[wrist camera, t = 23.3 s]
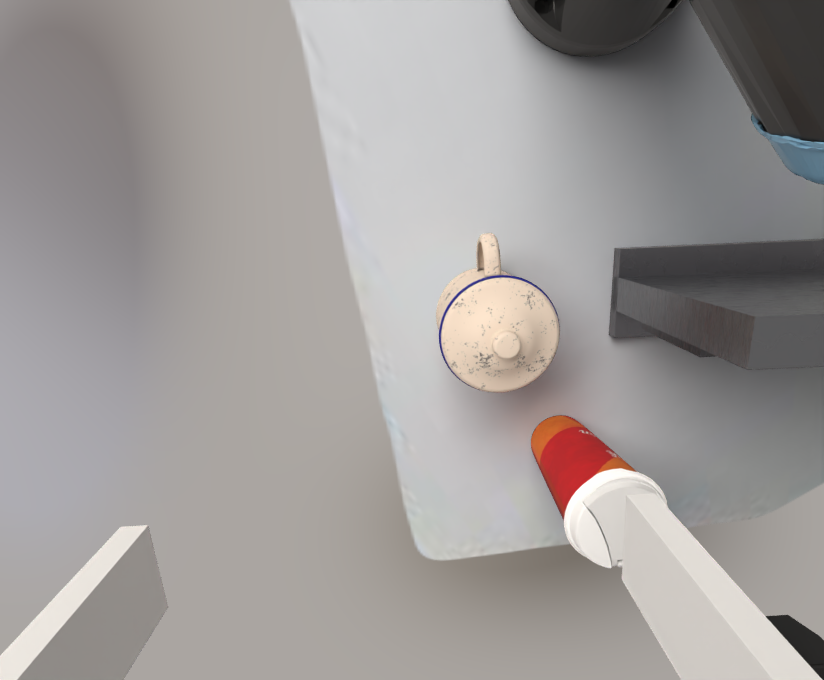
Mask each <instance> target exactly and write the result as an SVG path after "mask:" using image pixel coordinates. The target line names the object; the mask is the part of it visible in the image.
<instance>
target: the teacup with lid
mask: <svg viewBox="0 0 824 680" xmlns="http://www.w3.org/2000/svg"><path fill="white" fill-rule="evenodd" d="M476 258H477V268H475V269H471V270H468V271H466V272H463V273H461V274H460V275H458V276H457V277H455V278H454V279H453V280H452V281H451V282H450V283H449V284H448V285H447V286H446V288H445V289H444V291H443V292H442V294H441V296H440V299H439V301H438V305H437V312H436V319H437V325H438V329H439V343H440V349H441V353H442V356H443V358H444V360H445V363H446V364H447V366H448V368H449V369H450V370H451V371H452V373H453V374H454V375H455V376H456V377H457V378H458V379H460V380H461V381H462V382H464V383H465V384H467V385H469V386H471V387H473V388H475V389H478V390H482V391H487V392H497V393H498V392H509V391H513V390H516V389H519V388H522V387H524V386H526V385H528V384H530V383H531V382H533V381H534V380H536V379H537V378H538V377H539V376H540V375H541V374H542V373H543V372H544V371H545V370H546V369H547V368H548V366H549V365H550V363H551V362H552V360H553V358H554V356H555V353H556V351H557V347H558V343H559V336H560V326H559V319H558V315H557V312H556V310H555V307H554V305H553V304H552V302H551V300H550V299H549V298H548V296H547V295H546V294H545V293H544V292H543V291H542V290H541V289H540V288H539V287H537V286H536V285H534V284H533V283H531V282H529V281H527V280H525V279H522V278H519V277H515V276H512V275H510V274H508V273H506V272H504V271H502V270H501V261H500V250H499V244H498V240H497V238H496V236H495V235H494V234H492V233H486V234H482V235H481V236H480V237H479V239H478V242H477V252H476Z"/></svg>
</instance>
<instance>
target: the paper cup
mask: <svg viewBox="0 0 824 680" xmlns="http://www.w3.org/2000/svg"><path fill="white" fill-rule="evenodd" d="M531 448H532V452H533V454H534V457H535V459H536V462H537V464H538V466H539V468H540V470H541V473H542V475H543V477H544V479H545V481H546V484H547V486H548V488H549V490H550V492H551V494H552V496H553V499H554V501H555V503H556V505H557V507H558V509H559V511H560V513H561V516H562V518H563V520H564V528H565V533H566V535H567V538H568V540H569V542H570V543H571V545H572V546H573V547H574V548H575V550H576V551H578V552H579V553H580V554H581V555H583V556H585V557H586V558H588V559H590V560H591V561H592V562H594V563H596V564H598V565H600V566H603V567H606V568H611V566H618V567H622V565H623V547H624V530H625V512H626V495H635V494H650V493H655V494H656V495H657V496H658V498H659V499H660V500H661V501H662V502H663V503H664V504H665V505H666V506H667V508H668V504H667V500H666V497H665V495H664V493H663V491H662V489H661V488H660V487H659V486H658V484H657V483H655V482H654V481H653V480H652V479H651V478H649V477H647V476H646V475H643V474H641V473H638V472H637V471H635V470H634V469H633V468H632V467H631V466H630V465H628V464H627V463H626V462H625V461H624V460H623V459H622V458H620V457H619V456H618V455H617V454H616V453H615V452H614V451H612V450H611V449H610V448H609V447H608V446H607V445H605V444H604V443H603V442H602V441H601V440H600V439H599V438H597V437H596V436H595V435H594V434H593V433H592V432H590V431H589V430H588V429H587V428H586V427H584V426H583V425H582V424H581V423H579V422H578V421H576V420H575V419H573V418H571V417H568V416H562V415H559V416H553V417H550V418H547V419H545V420H544V421H542V422H541V423H540V424H539V425H538V426H537V427H536V429H535V430H534V432H533V434H532V438H531ZM668 509H669V508H668Z"/></svg>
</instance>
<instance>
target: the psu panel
mask: <svg viewBox="0 0 824 680" xmlns="http://www.w3.org/2000/svg"><path fill="white" fill-rule="evenodd" d="M609 335H611V336H612V337H614V338H618V337H641V336H657V337H659V338H661V339H663V340H666V341H668V342H670V343H672V344H674V345H676V346H678V347H680V348H682V349H684V350H686V351H689V352H691V353H693V354H695V355H697V356H699V357H711V356H718V357H720V358H722V359H725V360H727V361H729V362H731V363H734V364H736V365H738V366H740V367H742V368H745V369H747V370H752V369H776V368H799V367H822V366H824V239H811V240H789V241H766V242H744V243H721V244H699V245H676V246H654V247H631V248H615V252H614V267H613V282H612V297H611V312H610V327H609Z"/></svg>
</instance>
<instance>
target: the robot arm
mask: <svg viewBox="0 0 824 680" xmlns="http://www.w3.org/2000/svg"><path fill="white" fill-rule="evenodd" d="M690 1H691V0H690ZM509 2H510V4H511V7H512V8H513V10H514V12H515V14H516V15H517V17H518V18H519V20H520V21H521V22H522V24H523V25H524V26H525V27H526V28H527V30H528V31H529V32H530V33H531V34H533V35H534V36H535V37H536V38H537V39H538V40H540V41H541V42H543V43H544V44H546V45H548V46H549V47H551V48H553V49H556V50H558V51H561V52H563V53H567V54H571V55H577V56H599V55H605V54H609V53H613V52H616V51H619V50H621V49H623V48H626V47H628V46H630V45H632V44H633V43H635V42H637V41H638V40H640V39H641V38H643V37H644V36H645V35H647V34H648V33H649V32H651V31H652V30H653V29H654V28H656V27H657V26H658V25H659V24H661V23H662V22H663V21H664V20H665V19H666V18H667V17H668V16H669V15H670V14H671V13H672V12H673V11H674V10H675V9H676V8H677V6H678V5H679V4H680V3H681V2H682V0H509ZM690 3H691V5H692V7H693V9H694V10H695V12H696V14H697V16H698V18H699V19H700V21H701V23H702V25H703V26H704V28H705V30H706V32H707V34H708V35H709V37H710V39H711V41H712V42H713V44H714V46H715V48H716V50H717V51H718V53H719V55H720V57H721V59H722V60H723V62H724V64H725V66H726V67H727V69H728V71H729V73H730V75H731V76H732V78H733V80H734V82H735V83H736V85H737V87H738V89H739V91H740V92H741V94H742V96H743V98H744V99H745V101H746V103H747V105H748V107H749V108H750V110H751V112H752V116H751V120H752V122H753V124H754V127H755V128H756V129H757V131H758V132H759V133H760V134H762V135H763V136H764V137H766V138H767V139H768V140H769V142H770V143H771V145H772V146H773V148H774V149H775V151H776V152H777V154H778V155H779V157H780V159H781V160H782V162H783V163H784V164H785V166H786V167H787V168H788V169H789V170H790V171H791V172H793V173H794V174H796V175H799V176H802V177H804V178H805V179H806V180H810V181H812V182H815V183H818V184H824V0H692V1H691V2H690ZM622 581H623V583H624V584H625V586H626V588H627V589H628V591H629V593H630V594H631V596H632V598H633V599H634V601H635V603H636V605H637V606H638V608H639V610H640V611H641V613H642V615H643V616H644V618H645V620H646V621H647V623H648V625H649V627H650V628H651V630H652V632H653V633H654V635H655V637H656V638H657V640H658V642H659V643H660V645H661V647H662V649H663V650H664V652H665V654H666V655H667V657H668V659H669V660H670V662H671V664H672V665H673V667H674V669H675V670H676V672H677V674H678V675H679V677H680V679H681V680H824V640H823V639H822V638H821V637H820V636H818V635H817V634H815V633H814V632H812V631H811V630H809V629H808V628H806V627H805V626H803V625H802V624H800V623H799V622H797V621H796V620H795V619H793V618H792V617H790V616H789V615H779V616H765V615H764V614H763V613H762V612H761V611H760V610H759V609H758V608H757V607H756V606H755V604H754V603H753V602H752V601H751V600H750V599H749V598H748V597H747V595H746V594H745V593H744V592H743V591H742V590H741V589H740V588H739V587H738V585H737V584H736V583H735V582H734V581H733V580H732V579H731V578H730V577H729V575H728V574H727V573H726V572H725V571H724V570H723V569H722V568H721V566H720V565H718V563H717V562H716V561H715V560H714V559H713V558H712V557H711V556H710V554H709V553H708V552H707V551H706V550H705V549H704V548H703V546H701V544H700V543H699V542H698V541H697V540H696V539H695V538H694V536H693V535H692V534H691V533H690V532H689V531H688V530H687V529H686V528H685V526H684V525H683V524H682V523H681V522H680V521H679V520H678V519H677V518H676V516H675V515H674V514H673V513H672V512H671V511H670V510H669V509H668V508H667V506H666V505H665V504H664V503H663V502H662V501H661V500H660V499H659V498H658V496H657V495H656V494H655V493H650V494H635V495H626V512H625V530H624V547H623V565H622ZM167 608H168V605H167V600H166V596H165V592H164V588H163V584H162V580H161V576H160V572H159V567H158V563H157V559H156V555H155V551H154V547H153V543H152V539H151V534H150V530H149V526H148V525H145V526H128V527H120V528H119V529H118V530H117V532H116V533H115V534H114V535H113V536H112V537H111V538H110V539H109V540H108V541H107V542H106V543H105V544H104V545H103V546H102V547H101V549H100V550H99V551H98V552H97V553H96V554H95V555H94V556H93V557H92V558H91V559H90V560H89V561H88V563H87V564H86V565H85V566H84V567H83V568H82V569H81V570H80V571H79V572H78V573H77V574H76V575H75V576H74V577H73V578H72V580H71V581H70V582H69V583H68V584H67V585H66V586H65V587H64V588H63V589H62V590H61V591H60V592H59V593H58V595H57V596H56V597H55V598H54V599H53V600H52V601H51V602H50V603H49V604H48V605H47V606H46V607H45V608H44V609H43V611H42V612H41V613H40V614H39V615H38V616H37V617H36V618H35V619H34V620H33V621H32V622H31V623H30V624H29V626H28V627H27V628H26V629H25V630H24V631H23V632H22V633H21V634H20V635H19V636H18V637H17V638H16V639H15V641H14V642H13V643H12V644H11V645H10V646H9V647H8V648H7V649H6V650H5V651H4V652H3V653H2V654H1V656H0V680H124V678H125V676H126V675H127V673H128V672H129V670H130V668H131V667H132V665H133V664H134V662H135V660H136V659H137V657H138V655H139V653H140V652H141V651H142V649H143V647H144V646H145V644H146V643H147V641H148V639H149V638H150V636H151V634H152V633H153V631H154V629H155V628H156V626H157V625H158V623H159V621H160V620H161V618H162V617H163V615H164V613H165V612H166V610H167Z"/></svg>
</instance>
